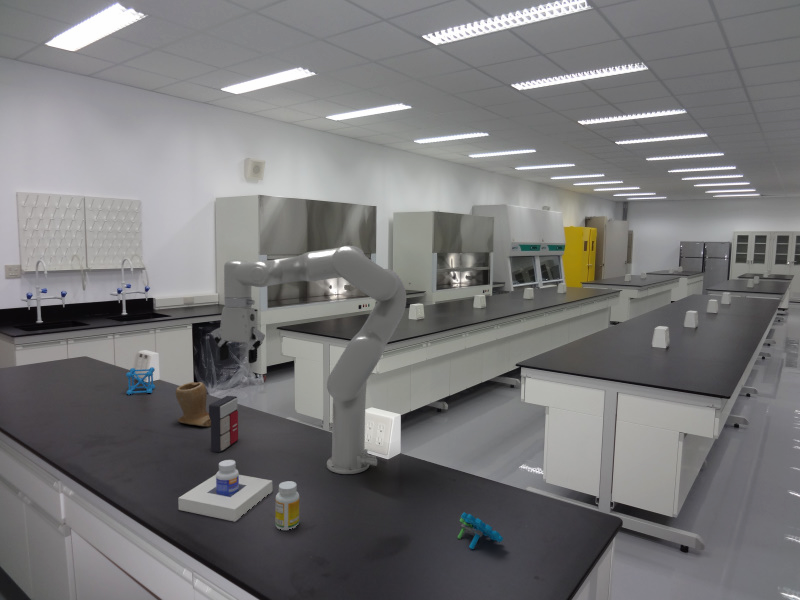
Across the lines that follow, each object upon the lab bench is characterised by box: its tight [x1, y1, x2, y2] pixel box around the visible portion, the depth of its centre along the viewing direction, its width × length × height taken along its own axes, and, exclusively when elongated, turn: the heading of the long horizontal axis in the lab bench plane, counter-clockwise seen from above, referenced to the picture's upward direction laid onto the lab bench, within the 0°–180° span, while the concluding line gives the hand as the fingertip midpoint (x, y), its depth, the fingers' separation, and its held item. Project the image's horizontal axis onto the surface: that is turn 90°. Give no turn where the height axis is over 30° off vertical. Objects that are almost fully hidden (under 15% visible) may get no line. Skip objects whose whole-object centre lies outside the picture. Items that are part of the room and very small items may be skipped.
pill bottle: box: [215, 459, 240, 497], centre depth 129 cm, size 5×5×10 cm
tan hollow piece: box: [175, 381, 211, 427], centre depth 184 cm, size 15×12×15 cm
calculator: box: [208, 395, 239, 453], centre depth 164 cm, size 11×4×15 cm, turn 168°
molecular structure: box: [125, 366, 156, 396], centre depth 223 cm, size 10×10×10 cm
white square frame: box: [177, 474, 273, 523], centre depth 129 cm, size 16×16×3 cm
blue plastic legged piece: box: [457, 511, 504, 550], centre depth 112 cm, size 11×6×10 cm
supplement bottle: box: [274, 480, 300, 531], centre depth 118 cm, size 5×5×10 cm
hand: (238, 360), depth 151 cm, fingers open, 9 cm apart
